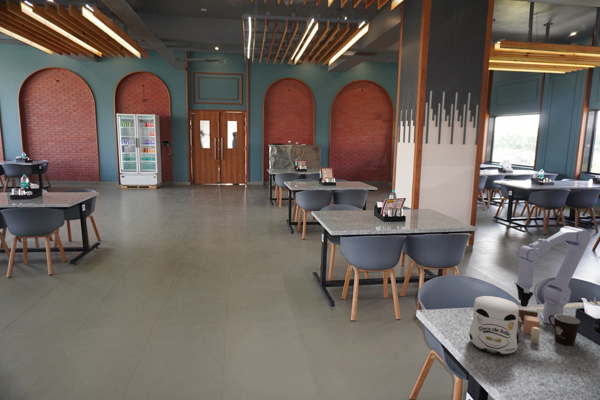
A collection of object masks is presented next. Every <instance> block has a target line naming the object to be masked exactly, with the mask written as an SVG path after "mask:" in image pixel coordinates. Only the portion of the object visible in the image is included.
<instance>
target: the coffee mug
mask: <svg viewBox="0 0 600 400" xmlns="http://www.w3.org/2000/svg"><path fill="white" fill-rule="evenodd" d="M551 317H554V324H555V325H554V324H552V322H551V320H550V318H551ZM549 322H550V323H551V324H550V326H552V328H553V329H554V341H555V342H556V343H557V344H559V345H561V346H565V347H573V346H574V345H575V342H576V339H577V335H578V331H579V327H580V324H581V321H580V319H578V318H576V317H574V316H571V315H568V314H563V315H561V314H558V315H555V316H554V315H550V316H549Z"/></svg>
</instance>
